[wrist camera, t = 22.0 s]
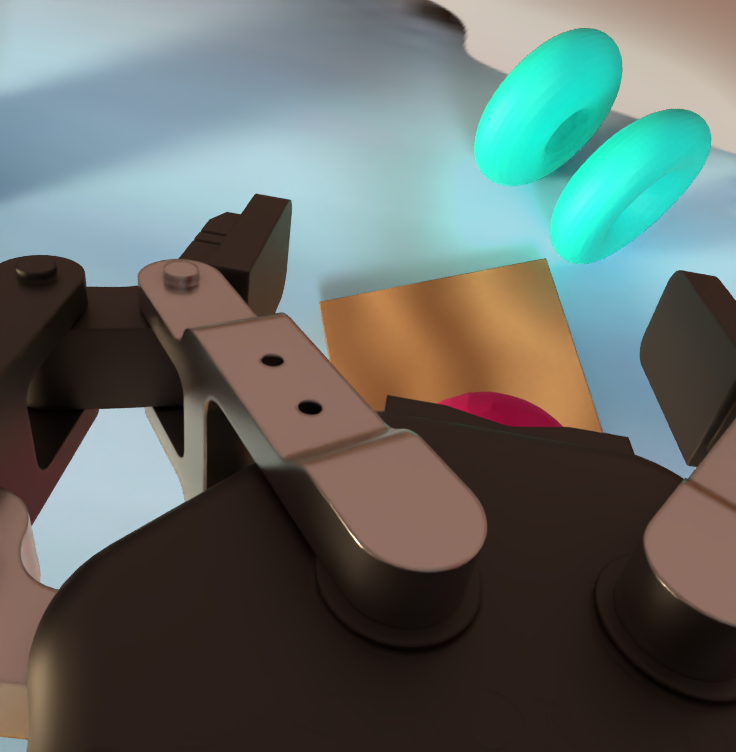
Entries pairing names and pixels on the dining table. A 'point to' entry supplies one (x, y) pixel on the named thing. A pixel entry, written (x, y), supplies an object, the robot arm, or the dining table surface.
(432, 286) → the oak board
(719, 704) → the robot arm
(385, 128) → the dining table surface
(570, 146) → the turquoise spool
